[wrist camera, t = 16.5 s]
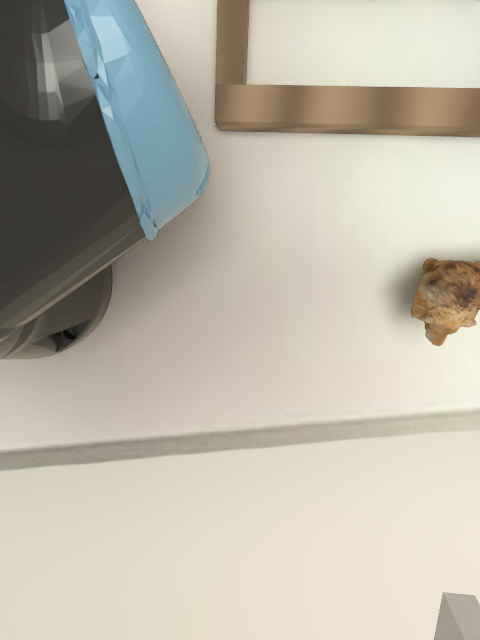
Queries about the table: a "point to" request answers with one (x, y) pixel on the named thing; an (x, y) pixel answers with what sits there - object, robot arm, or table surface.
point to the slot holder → (328, 98)
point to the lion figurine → (447, 297)
